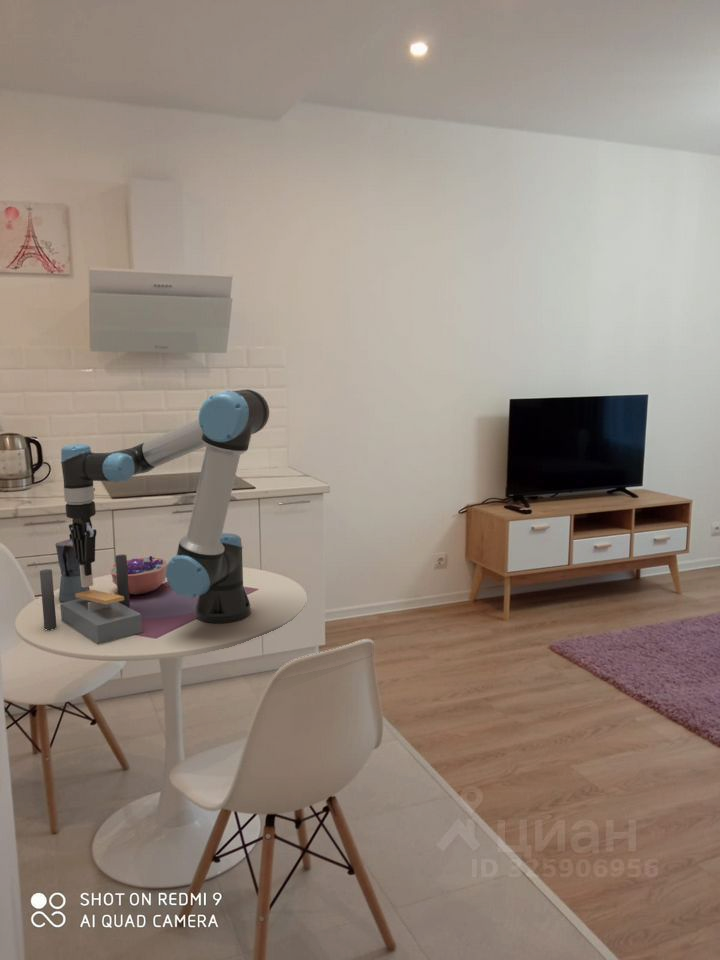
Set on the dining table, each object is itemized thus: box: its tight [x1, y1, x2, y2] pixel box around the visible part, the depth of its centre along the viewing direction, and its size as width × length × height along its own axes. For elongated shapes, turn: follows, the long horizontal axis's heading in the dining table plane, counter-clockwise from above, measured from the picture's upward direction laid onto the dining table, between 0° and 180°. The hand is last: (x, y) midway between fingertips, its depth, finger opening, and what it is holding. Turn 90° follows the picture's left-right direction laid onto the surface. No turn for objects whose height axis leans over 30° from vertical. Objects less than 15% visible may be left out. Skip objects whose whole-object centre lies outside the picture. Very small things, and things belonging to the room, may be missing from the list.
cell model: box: [110, 555, 168, 596], centre depth 231 cm, size 17×20×11 cm
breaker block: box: [59, 599, 143, 645], centre depth 202 cm, size 24×12×7 cm, turn 43°
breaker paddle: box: [75, 589, 124, 604], centre depth 201 cm, size 20×5×1 cm, turn 42°
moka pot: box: [55, 533, 90, 603], centre depth 223 cm, size 10×15×20 cm, turn 10°
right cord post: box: [115, 554, 131, 608], centre depth 214 cm, size 3×3×16 cm
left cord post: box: [39, 568, 58, 631], centre depth 200 cm, size 3×3×16 cm
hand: (87, 585), depth 206 cm, fingers closed
